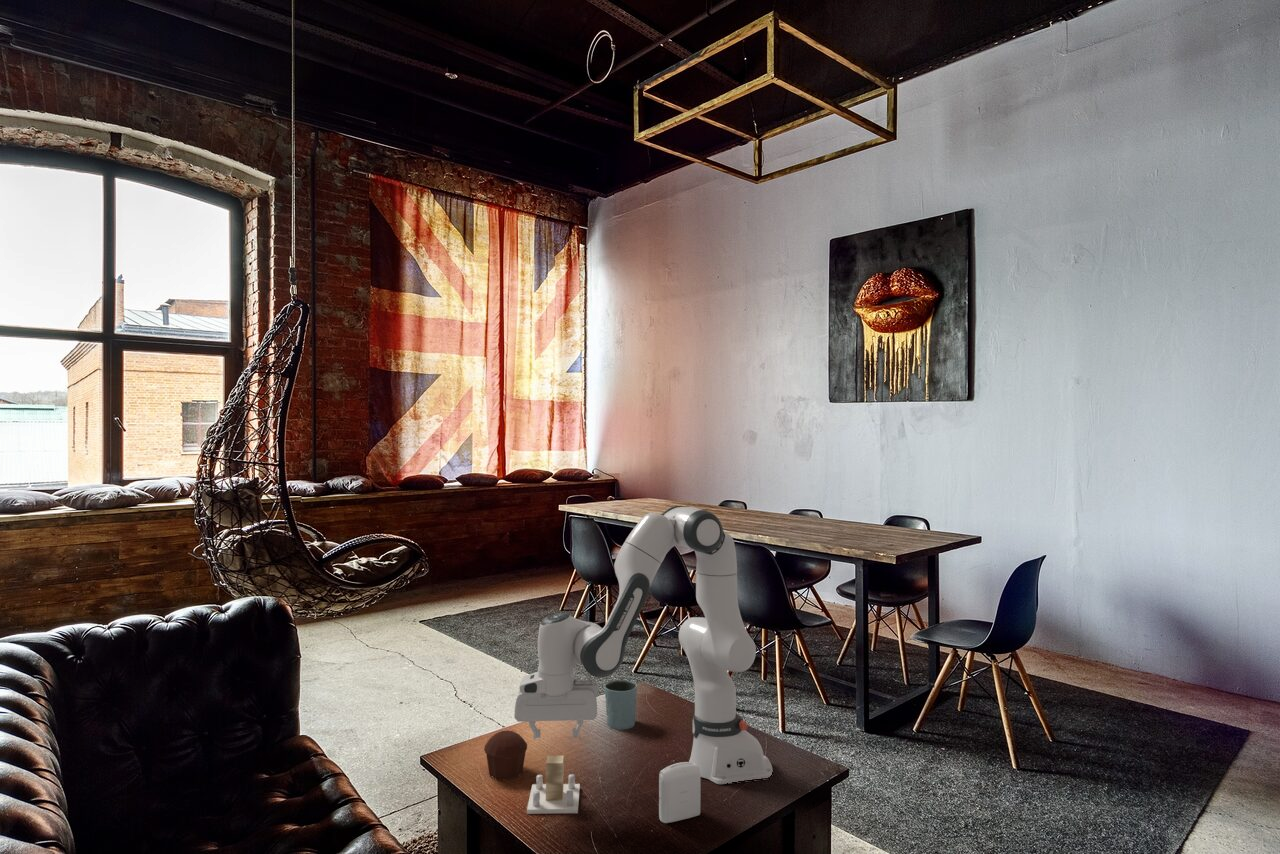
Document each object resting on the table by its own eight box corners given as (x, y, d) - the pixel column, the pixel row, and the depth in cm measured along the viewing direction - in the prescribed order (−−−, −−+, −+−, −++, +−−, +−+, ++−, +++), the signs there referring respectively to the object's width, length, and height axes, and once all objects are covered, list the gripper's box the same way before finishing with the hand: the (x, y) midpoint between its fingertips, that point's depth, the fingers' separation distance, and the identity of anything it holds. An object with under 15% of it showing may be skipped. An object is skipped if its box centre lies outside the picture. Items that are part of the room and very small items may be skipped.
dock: (579, 787, 179) (579, 771, 179) (577, 813, 167) (577, 796, 167) (532, 788, 178) (532, 772, 178) (526, 813, 166) (527, 796, 166)
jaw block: (563, 792, 175) (563, 755, 175) (562, 800, 171) (562, 763, 171) (547, 792, 174) (547, 755, 175) (545, 800, 170) (546, 763, 171)
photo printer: (663, 826, 162) (664, 772, 162) (655, 816, 166) (656, 763, 166) (703, 816, 166) (703, 764, 166) (694, 807, 170) (695, 756, 170)
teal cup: (639, 729, 215) (640, 689, 215) (607, 732, 212) (607, 692, 212) (632, 716, 224) (633, 678, 224) (601, 718, 222) (601, 680, 222)
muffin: (533, 776, 185) (534, 737, 185) (493, 786, 179) (493, 747, 179) (516, 757, 195) (517, 721, 195) (478, 767, 189) (478, 730, 189)
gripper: (598, 675, 176) (599, 730, 177) (516, 677, 176) (516, 732, 176) (598, 684, 170) (598, 741, 170) (513, 686, 169) (513, 744, 169)
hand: (556, 737), depth 173 cm, fingers open, 8 cm apart
